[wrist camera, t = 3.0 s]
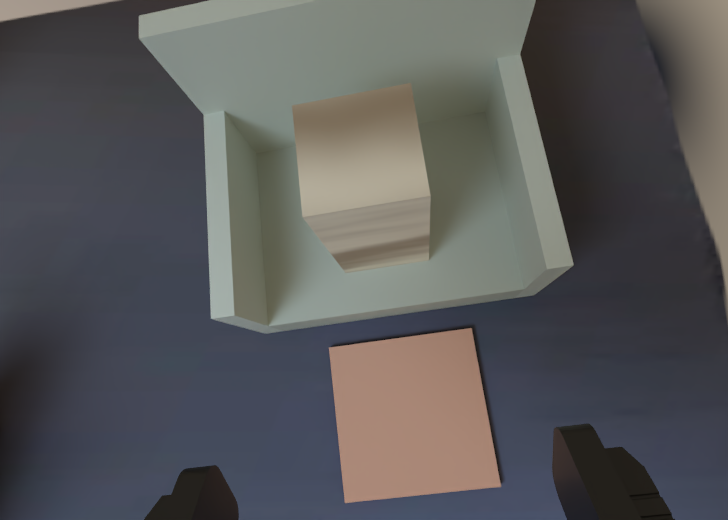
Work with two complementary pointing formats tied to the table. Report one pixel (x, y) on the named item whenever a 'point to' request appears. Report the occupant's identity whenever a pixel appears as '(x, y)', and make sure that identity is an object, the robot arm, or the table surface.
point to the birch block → (364, 177)
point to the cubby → (438, 138)
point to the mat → (412, 417)
